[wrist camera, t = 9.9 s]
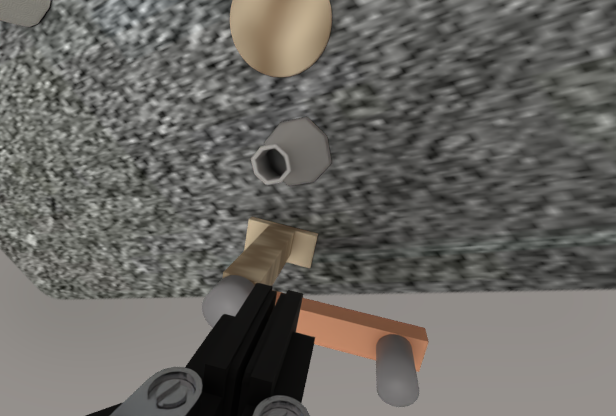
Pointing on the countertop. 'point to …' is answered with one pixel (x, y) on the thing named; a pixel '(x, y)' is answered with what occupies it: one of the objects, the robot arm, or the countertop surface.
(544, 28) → the countertop surface
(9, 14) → the paper towel roll
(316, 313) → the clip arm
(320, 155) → the flask
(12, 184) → the countertop surface
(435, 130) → the countertop surface
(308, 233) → the post
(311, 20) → the coaster
